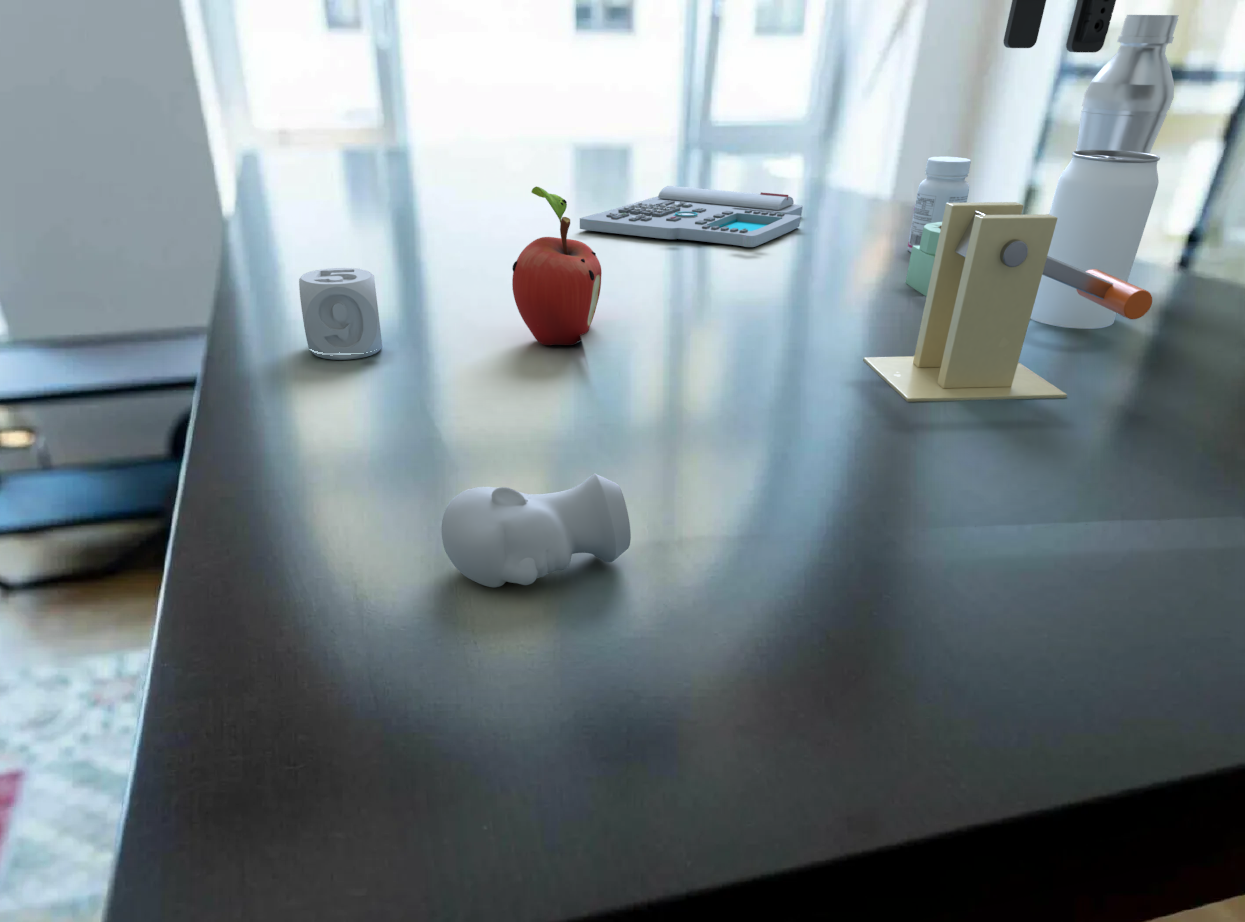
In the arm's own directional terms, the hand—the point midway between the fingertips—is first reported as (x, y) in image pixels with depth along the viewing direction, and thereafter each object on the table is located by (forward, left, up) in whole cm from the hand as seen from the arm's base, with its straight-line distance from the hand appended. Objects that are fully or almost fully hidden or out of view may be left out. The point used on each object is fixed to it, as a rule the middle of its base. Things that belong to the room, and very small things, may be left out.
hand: (1048, 50), depth 65 cm
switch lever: (+6, +18, -12) cm, 22 cm away
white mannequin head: (+38, +39, -18) cm, 57 cm away
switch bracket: (+10, +18, -18) cm, 27 cm away
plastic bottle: (-12, -8, -18) cm, 23 cm away
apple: (+35, +5, -18) cm, 40 cm away
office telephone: (+15, -39, -18) cm, 46 cm away
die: (+50, +6, -18) cm, 53 cm away
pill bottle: (-5, -23, -18) cm, 30 cm away
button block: (-2, -7, -18) cm, 20 cm away
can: (-5, +4, -18) cm, 19 cm away
